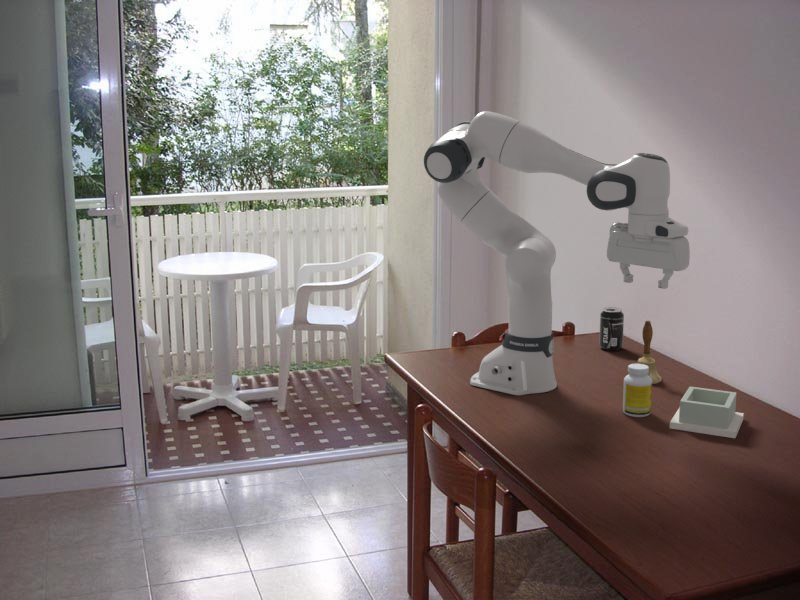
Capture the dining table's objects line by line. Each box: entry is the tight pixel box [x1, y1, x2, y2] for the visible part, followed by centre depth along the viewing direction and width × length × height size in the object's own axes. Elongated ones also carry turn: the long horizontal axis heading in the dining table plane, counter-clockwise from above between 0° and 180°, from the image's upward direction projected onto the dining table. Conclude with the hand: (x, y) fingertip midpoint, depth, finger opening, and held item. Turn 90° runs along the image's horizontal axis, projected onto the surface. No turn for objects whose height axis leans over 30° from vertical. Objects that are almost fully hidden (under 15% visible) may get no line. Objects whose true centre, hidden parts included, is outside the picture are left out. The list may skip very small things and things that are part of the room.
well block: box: [669, 386, 745, 439], centre depth 200 cm, size 14×13×6 cm
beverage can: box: [598, 306, 625, 352], centre depth 261 cm, size 7×7×12 cm
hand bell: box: [636, 320, 663, 385], centre depth 231 cm, size 8×8×16 cm
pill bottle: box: [622, 363, 653, 418], centre depth 207 cm, size 6×6×12 cm
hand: (645, 285), depth 203 cm, fingers open, 8 cm apart
